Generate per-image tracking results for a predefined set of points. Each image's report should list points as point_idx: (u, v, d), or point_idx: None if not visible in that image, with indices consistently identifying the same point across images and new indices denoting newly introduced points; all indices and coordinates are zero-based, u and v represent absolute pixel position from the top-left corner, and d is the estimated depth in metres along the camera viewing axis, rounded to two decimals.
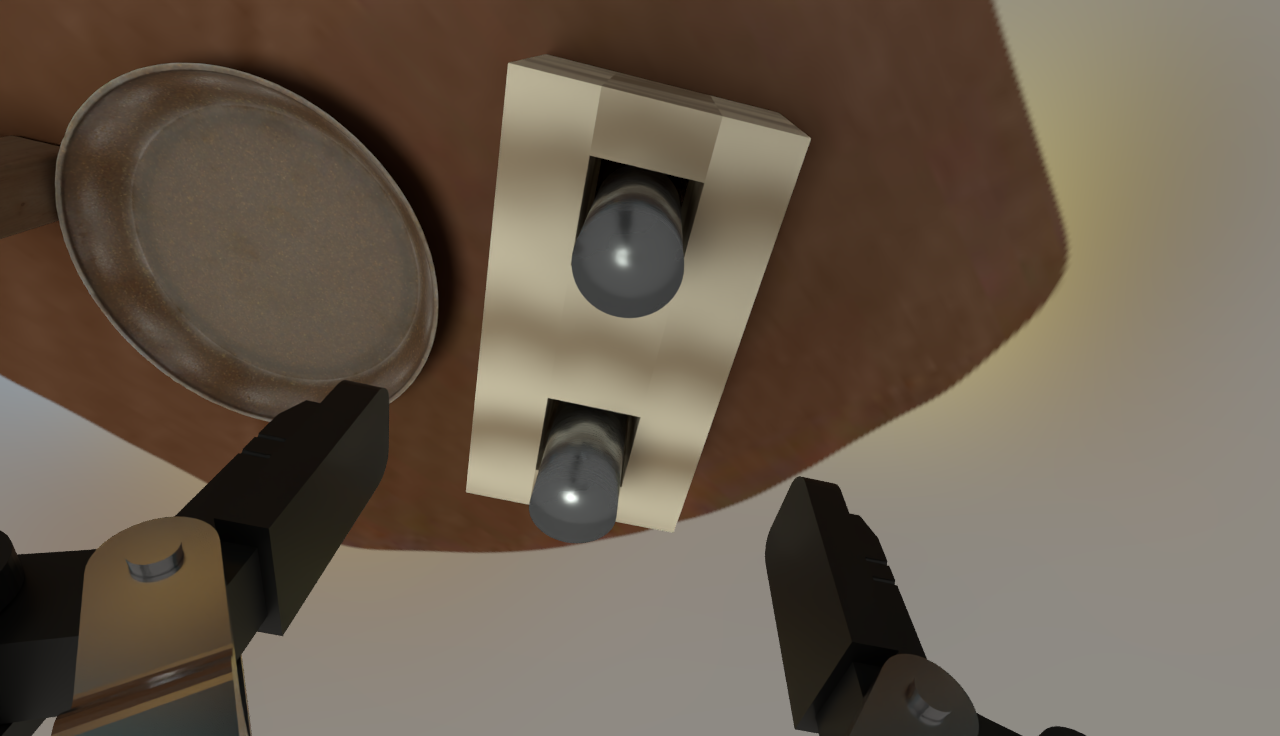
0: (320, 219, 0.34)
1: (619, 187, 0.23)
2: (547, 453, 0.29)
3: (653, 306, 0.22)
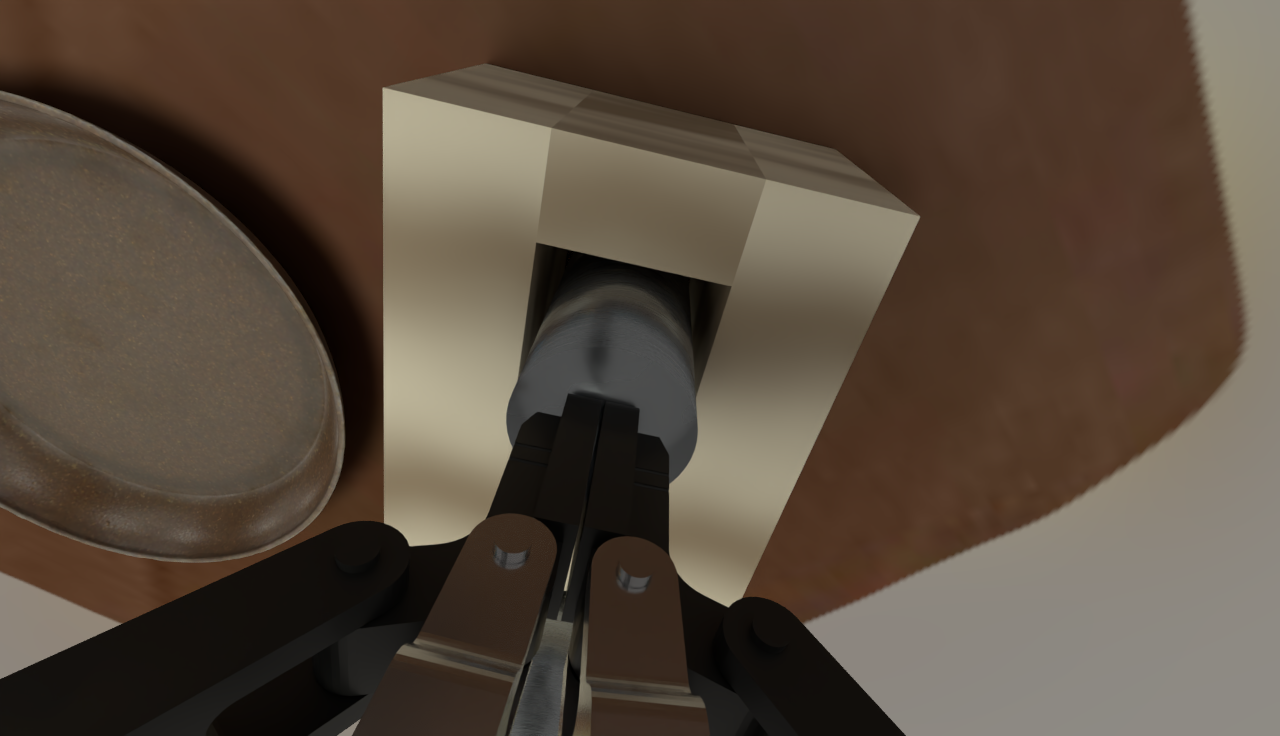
0: (179, 296, 0.24)
1: (592, 279, 0.15)
2: None
3: None
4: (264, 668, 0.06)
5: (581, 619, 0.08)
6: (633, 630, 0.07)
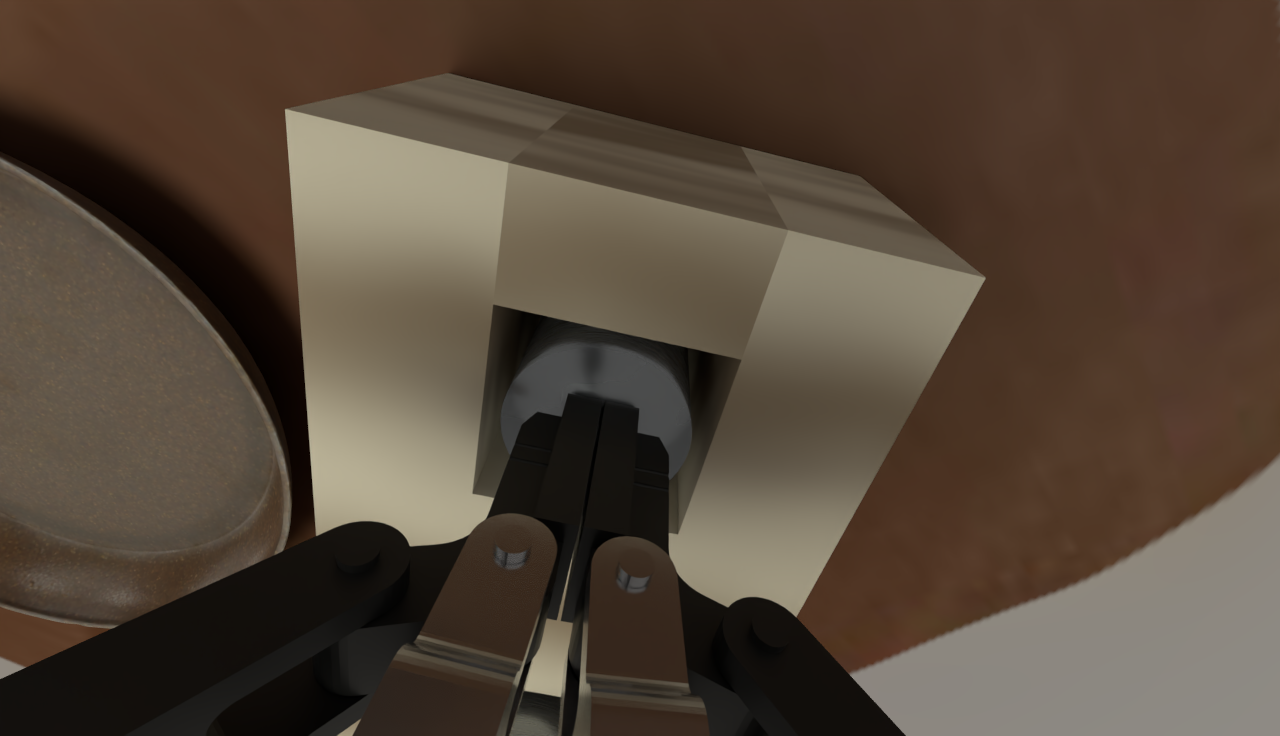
0: (101, 336, 0.21)
1: None
2: None
3: None
4: (264, 668, 0.06)
5: (581, 619, 0.08)
6: (633, 630, 0.07)
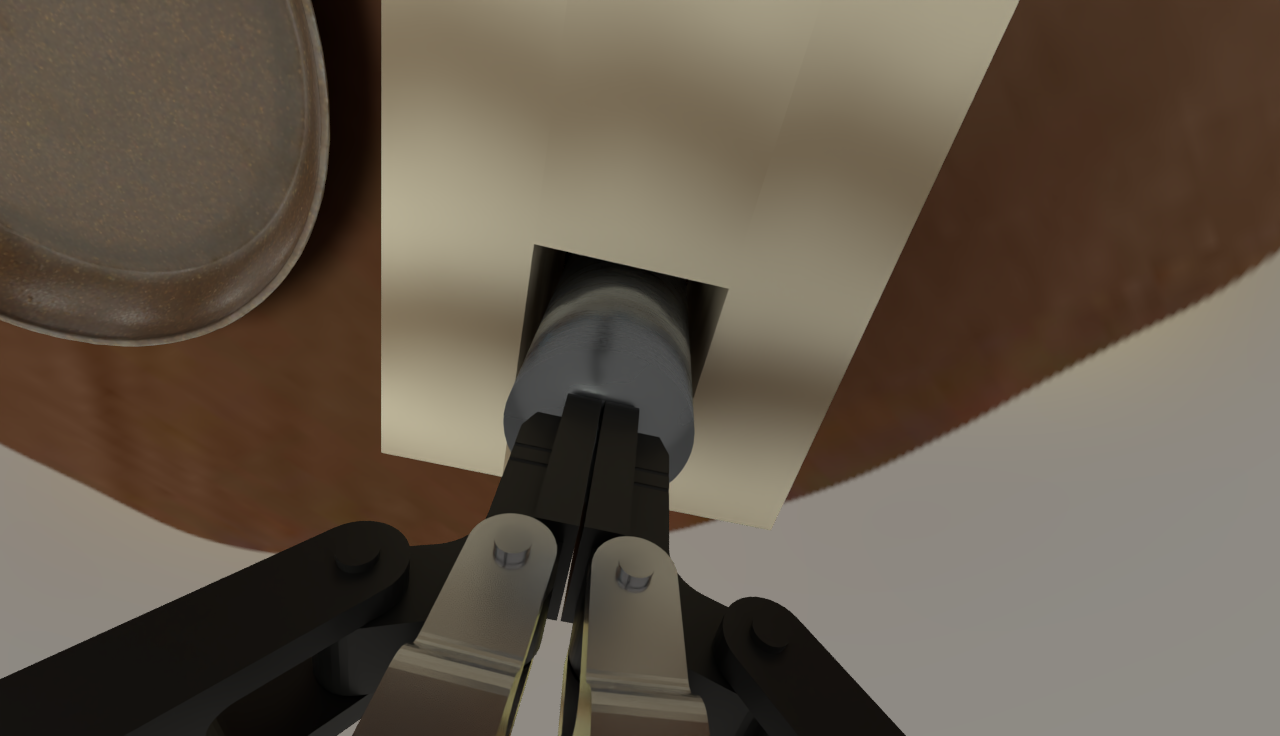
0: None
1: None
2: (544, 323, 0.14)
3: None
4: (264, 668, 0.06)
5: (581, 619, 0.08)
6: (633, 630, 0.07)
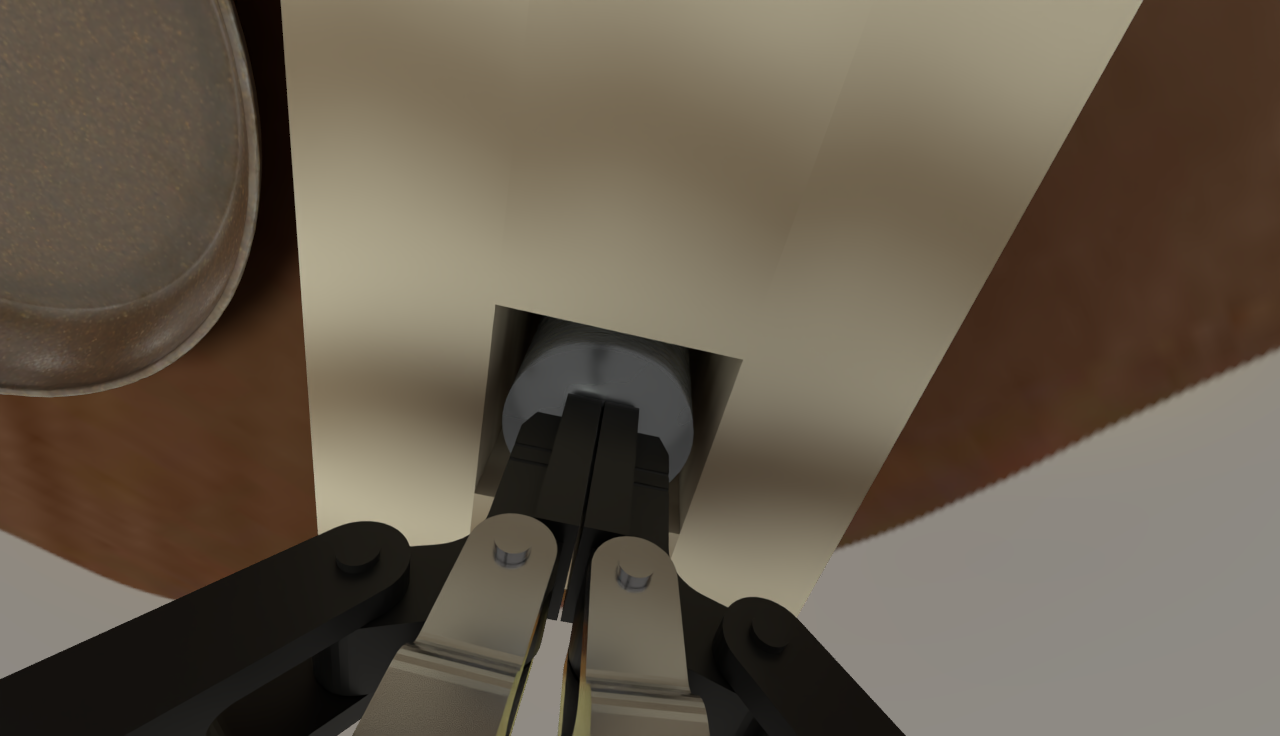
0: None
1: None
2: (543, 322, 0.14)
3: None
4: (264, 668, 0.06)
5: (581, 619, 0.08)
6: (633, 630, 0.07)
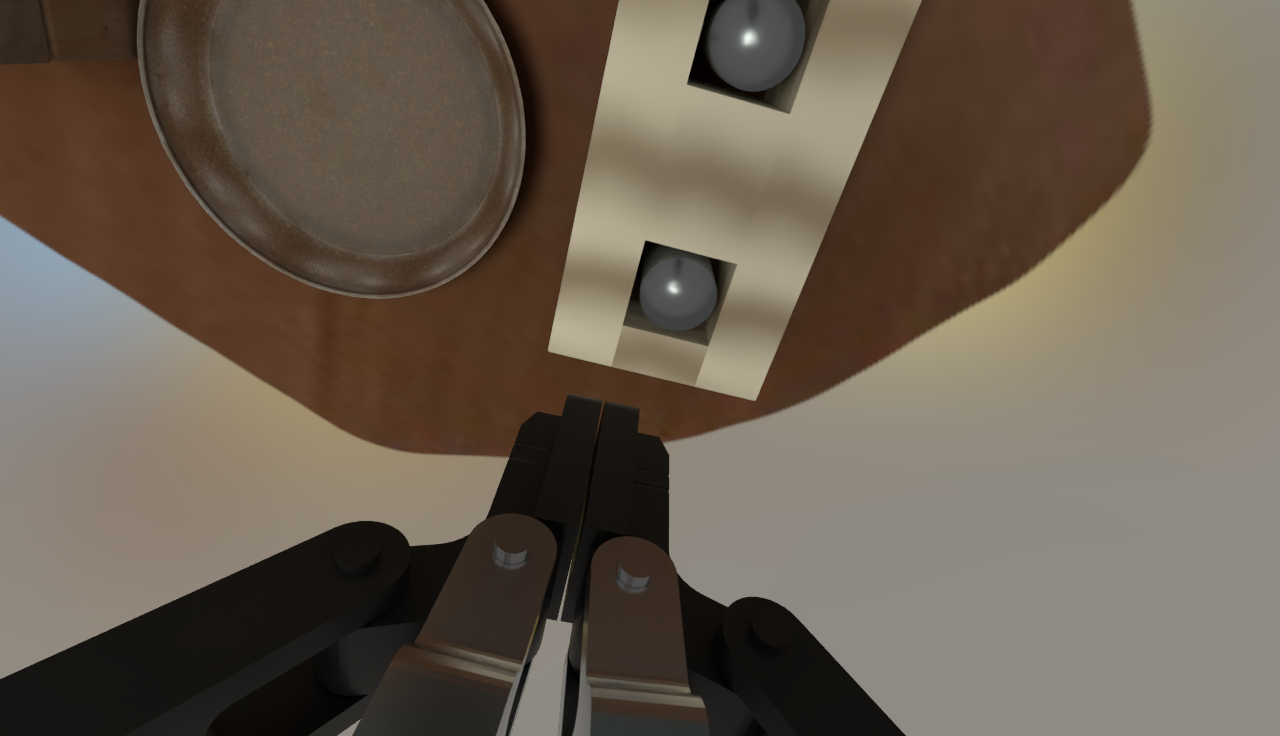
0: (404, 72, 0.33)
1: None
2: (651, 255, 0.32)
3: (774, 79, 0.26)
4: (264, 668, 0.06)
5: (581, 619, 0.08)
6: (633, 630, 0.07)
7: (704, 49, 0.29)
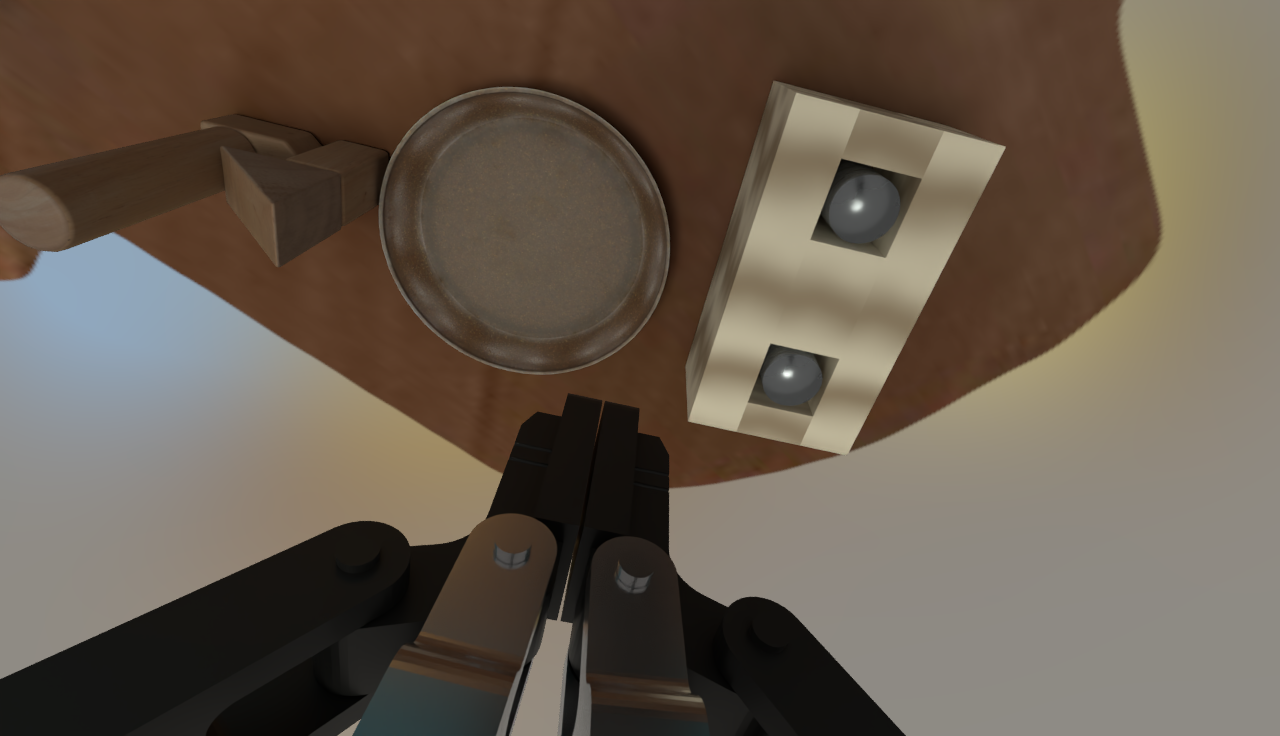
0: (572, 207, 0.43)
1: (845, 163, 0.37)
2: None
3: (875, 235, 0.35)
4: (264, 668, 0.06)
5: (581, 619, 0.08)
6: (633, 630, 0.07)
7: None
